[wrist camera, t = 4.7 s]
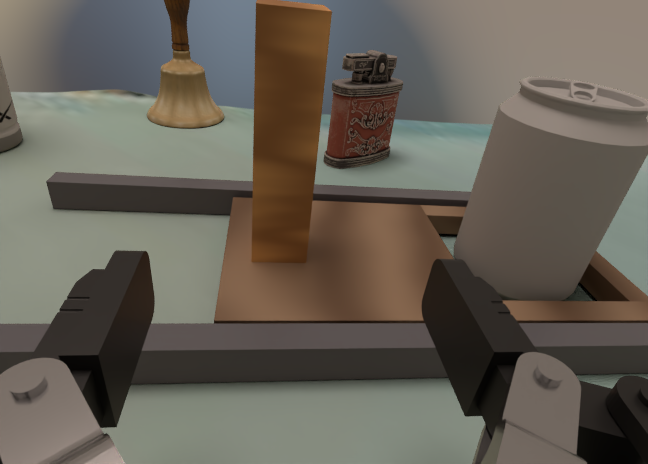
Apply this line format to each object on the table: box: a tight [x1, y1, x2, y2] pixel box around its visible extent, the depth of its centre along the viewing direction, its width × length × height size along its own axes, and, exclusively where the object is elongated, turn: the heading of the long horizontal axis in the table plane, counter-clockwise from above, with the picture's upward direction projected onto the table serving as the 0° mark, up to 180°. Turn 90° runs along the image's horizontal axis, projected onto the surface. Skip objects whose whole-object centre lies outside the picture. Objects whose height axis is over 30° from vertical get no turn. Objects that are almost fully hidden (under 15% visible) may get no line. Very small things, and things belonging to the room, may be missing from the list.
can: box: [454, 77, 648, 301], centre depth 24 cm, size 8×8×12 cm
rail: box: [0, 172, 648, 384], centre depth 25 cm, size 38×16×2 cm, turn 96°
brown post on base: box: [214, 0, 648, 324], centre depth 23 cm, size 24×12×14 cm, turn 96°
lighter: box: [324, 50, 403, 169], centre depth 40 cm, size 8×3×10 cm, turn 130°
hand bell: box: [147, 0, 224, 128], centre depth 44 cm, size 8×8×16 cm
